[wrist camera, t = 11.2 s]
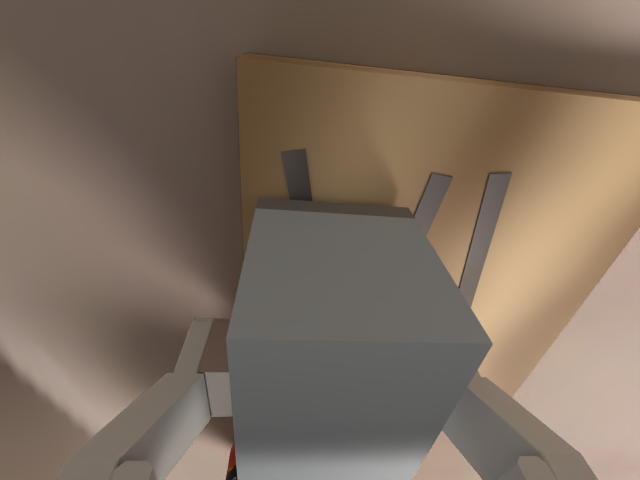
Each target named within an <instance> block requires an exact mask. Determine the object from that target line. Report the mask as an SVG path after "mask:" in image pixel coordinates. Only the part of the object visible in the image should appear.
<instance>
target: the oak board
mask: <svg viewBox="0 0 640 480" xmlns="http://www.w3.org/2000/svg"><path fill="white" fill-rule="evenodd" d="M236 69H237V97H238V125H239V152H240V180H241V208H242V235H243V262H244V257H245V253H246V249H247V244H248V240H249V236H250V231H251V227H252V222H253V218H254V214H255V209H256V205H257V200H258V197H259V198H274V199H289V200H304V201H319V202H334V203H349V204H364V205H378V206H393V207H408V208H409V209H410V211H411V212H412V214H413V216H414V217H415V219H416V220H417V222H418V224H419V225H420V227H421V229H422V230H423V232H424V233H425V235H426V237H427V238H428V240H429V241H430V243H431V245H432V246H433V248H434V249H435V251H436V253H437V254H438V256H439V258H440V259H441V261H442V262H443V264H444V266H445V267H446V269H447V270H448V272H449V274H450V275H451V277H452V278H453V280H454V282H455V283H456V285H457V287H458V288H459V290H460V291H461V293H462V295H463V296H464V298H465V299H466V301H467V303H468V304H469V306H470V307H471V309H472V311H473V312H474V314H475V316H476V317H477V319H478V320H479V322H480V324H481V325H482V327H483V328H484V330H485V332H486V333H487V335H488V336H489V338H490V340H491V341H492V343H493V345H492V347H491V348H490V350H489V352H488V353H487V355H486V357H485V358H484V360H483V362H482V363H481V365H480V367H479V368H478V372H479V374H480V376H481V377H487V378H488V379H489V380H491V381H492V382H493V383H494V384H495V385H497V386H498V387H499V388H500V389H502V390H503V391H504V392H505V393H507V394H508V395H509V396H510V397H511V398H512V397H513V395H514V394H515V393H516V391H517V390H518V389H519V387H520V386H521V385H522V383H523V382H524V381H525V379H526V378H527V377H528V375H529V374H530V373H531V371H532V370H533V369H534V367H535V366H536V365H537V363H538V362H539V361H540V359H541V358H542V357H543V355H544V354H545V353H546V351H547V350H548V349H549V347H550V346H551V345H552V343H553V342H554V341H555V339H556V338H557V337H558V335H559V334H560V333H561V331H562V330H563V329H564V327H565V326H566V325H567V323H568V322H569V321H570V319H571V318H572V317H573V315H574V314H575V313H576V311H577V310H578V309H579V307H580V306H581V305H582V303H583V302H584V301H585V299H586V298H587V297H588V295H589V294H590V293H591V291H592V290H593V289H594V287H595V286H596V285H597V284H598V282H599V281H600V280H601V278H602V277H603V276H604V274H605V273H606V272H607V270H608V269H609V268H610V266H611V265H612V264H613V262H614V261H615V260H616V258H617V257H618V256H619V254H620V253H621V252H622V250H623V249H624V248H625V246H626V245H627V244H628V242H629V241H630V240H631V238H632V237H633V236H634V234H635V233H636V232H637V230H638V229H639V228H640V97H638V96H629V95H620V94H611V93H602V92H593V91H584V90H575V89H566V88H557V87H548V86H539V85H530V84H521V83H512V82H503V81H494V80H485V79H477V78H468V77H459V76H450V75H441V74H432V73H423V72H414V71H405V70H396V69H387V68H378V67H369V66H360V65H351V64H342V63H333V62H324V61H315V60H306V59H297V58H288V57H279V56H270V55H261V54H252V53H245V54H243V55H241V56H238V57H236Z"/></svg>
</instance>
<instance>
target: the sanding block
mask: <svg viewBox="0 0 640 480" xmlns="http://www.w3.org/2000/svg"><path fill="white" fill-rule="evenodd" d="M226 344H227V356H228V369H229V381H230V393H231V406H232V418H233V430H234V442H235V455H236V467H237V479H238V480H412V479H413V477H414V475H415V474H416V472H417V470H418V469H419V467H420V465H421V464H422V462H423V460H424V459H425V457H426V455H427V454H428V452H429V450H430V449H431V447H432V445H433V444H434V442H435V440H436V439H437V437H438V435H439V434H440V432H441V430H442V429H443V427H444V425H445V424H446V422H447V420H448V419H449V417H450V415H451V414H452V412H453V410H454V409H455V407H456V405H457V404H458V402H459V400H460V399H461V397H462V395H463V393H464V392H465V390H466V388H467V387H468V385H469V383H470V382H471V380H472V378H473V377H474V375H475V373H476V372H477V370H478V368H479V367H480V365H481V363H482V362H483V360H484V358H485V357H486V355H487V353H488V352H489V350H490V348H491V347H492V345H493V343H492V341H491V340H490V338H489V336H488V335H487V333H486V332H485V330H484V328H483V327H482V325H481V324H480V322H479V320H478V319H477V317H476V316H475V314H474V312H473V311H472V309H471V307H470V306H469V304H468V303H467V301H466V299H465V298H464V296H463V295H462V293H461V291H460V290H459V288H458V287H457V285H456V283H455V282H454V280H453V278H452V277H451V275H450V274H449V272H448V270H447V269H446V267H445V266H444V264H443V262H442V261H441V259H440V258H439V256H438V254H437V253H436V251H435V249H434V248H433V246H432V245H431V243H430V241H429V240H428V238H427V237H426V235H425V233H424V232H423V230H422V229H421V227H420V225H419V224H418V222H417V220H416V219H415V217H414V216H413V214H412V212H411V211H410V209H409V208H408V207H393V206H378V205H364V204H349V203H334V202H319V201H304V200H289V199H274V198H259V197H258V200H257V205H256V209H255V214H254V218H253V222H252V227H251V231H250V236H249V240H248V244H247V249H246V253H245V257H244V262H243V266H242V271H241V275H240V279H239V284H238V288H237V293H236V297H235V301H234V306H233V310H232V314H231V319H230V323H229V328H228V332H227V336H226Z"/></svg>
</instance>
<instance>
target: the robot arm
mask: <svg viewBox="0 0 640 480" xmlns="http://www.w3.org/2000/svg"><path fill="white" fill-rule="evenodd" d="M229 323H230V319H216V318H215V319H211V318H195V319H194V320H193V321H192V323H191V325H190V328H189V331H188V333H187V336H186V339H185V342H184V344H183V347H182V350H181V352H180V355H179V358H178V360H177V363H176V366H175V369H174V371H173V373H166V374H165V375H164V376H162V377H161V378H160V379H159V380H158V381H157V382H156V383H154V384H153V385H152V386H151V387H150V388H149V389H147V390H146V391H145V392H144V393H143V394H142V395H141V396H139V397H138V398H137V399H136V400H135V401H134V402H132V403H131V404H130V405H129V406H128V407H127V408H126V409H124V410H123V411H122V412H121V413H120V414H119V415H118V416H116V417H115V418H114V419H113V420H112V421H111V422H109V423H108V424H107V425H106V426H105V427H104V428H103V429H101V430H100V431H99V432H98V433H97V434H96V435H94V436H93V437H92V438H91V439H90V440H89V441H88V442H86V443H85V444H84V445H83V446H82V447H81V448H80V449H78V450H77V451H76V452H75V453H74V454H73V455H71V456H70V457H69V458H68V459H67V461H66V463H65V464H64V466H63V468H62V470H61V472H60V474H59V475H58V477H57V479H56V480H164V479H165V478H166V477H167V476H168V474H169V473H170V472H171V470H172V469H173V468H174V466H175V465H176V464H177V463H178V461H179V460H180V459H181V457H182V456H183V455H184V453H185V452H186V451H187V450H188V448H189V447H190V446H191V444H192V443H193V442H194V441H195V439H196V438H197V437H198V435H199V434H200V433H201V431H202V430H203V429H204V428H205V426H206V425H207V424H208V422H209V421H210V420H211V418H210V417H232V406H231V393H230V381H229V369H228V356H227V344H226V336H227V332H228V328H229ZM442 431H443V432H444V433H445V434H446V435H447V437H448V438H449V439H450V440H451V441H452V443H453V444H454V445H455V446H456V448H457V449H458V450H459V451H460V452H461V454H462V455H463V456H464V457H465V458H466V460H467V461H468V462H469V463H470V465H471V466H472V467H473V468H474V469H475V471H476V472H477V473H478V474H479V475H480V477H481V478H482V479H483V480H598V479H597V477H596V476H595V474H594V473H593V471H592V470H591V468H590V467H589V465H588V464H587V462H586V461H585V459H584V458H583V456H582V455H581V454H580V453H579V452H578V451H577V450H575V449H574V448H573V447H572V446H571V445H569V444H568V443H567V442H566V441H564V440H563V439H562V438H561V437H559V436H558V435H557V434H556V433H555V432H553V431H552V430H551V429H550V428H548V427H547V426H546V425H545V424H543V423H542V422H541V421H540V420H539V419H537V418H536V417H535V416H534V415H532V414H531V413H530V412H529V411H527V410H526V409H525V408H524V407H523V406H521V405H520V404H519V403H518V402H516V401H515V400H514V399H513V398H511V397H510V396H509V395H508V394H507V393H505V392H504V391H503V390H502V389H500V388H499V387H498V386H497V385H495V384H494V383H493V382H492V381H491V380H489V379H488V378H487V377H481V376H480V374H479V372H478V370H477V372H476V373H475V375H474V377H473V378H472V380H471V382H470V383H469V385H468V387H467V388H466V390H465V392H464V393H463V395H462V397H461V399H460V400H459V402H458V404H457V405H456V407H455V409H454V410H453V412H452V414H451V415H450V417H449V419H448V420H447V422H446V424H445V425H444V427H443V429H442Z"/></svg>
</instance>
